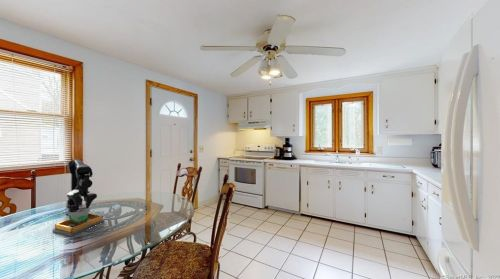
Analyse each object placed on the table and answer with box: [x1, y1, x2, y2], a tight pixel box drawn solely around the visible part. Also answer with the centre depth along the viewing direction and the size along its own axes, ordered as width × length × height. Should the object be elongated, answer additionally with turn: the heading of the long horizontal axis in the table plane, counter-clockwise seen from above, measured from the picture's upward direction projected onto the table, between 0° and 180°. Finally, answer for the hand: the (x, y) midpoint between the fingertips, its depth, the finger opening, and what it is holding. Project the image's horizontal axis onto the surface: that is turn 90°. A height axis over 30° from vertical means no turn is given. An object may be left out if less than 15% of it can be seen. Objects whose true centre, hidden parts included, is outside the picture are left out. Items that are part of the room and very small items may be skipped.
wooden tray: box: [52, 212, 105, 238], centre depth 133 cm, size 16×21×5 cm
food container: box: [67, 207, 91, 227], centre depth 133 cm, size 12×6×10 cm, turn 165°
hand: (82, 207), depth 135 cm, fingers open, 9 cm apart
